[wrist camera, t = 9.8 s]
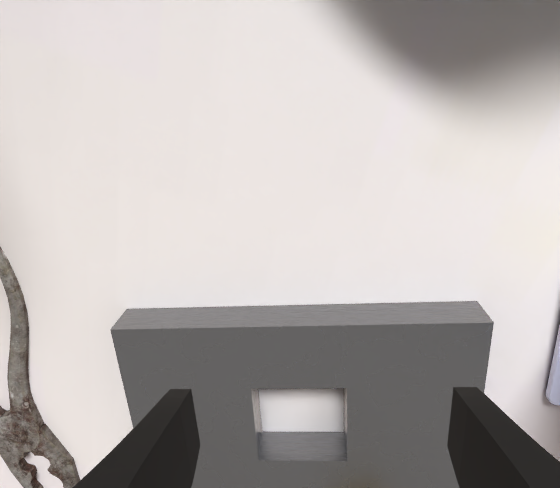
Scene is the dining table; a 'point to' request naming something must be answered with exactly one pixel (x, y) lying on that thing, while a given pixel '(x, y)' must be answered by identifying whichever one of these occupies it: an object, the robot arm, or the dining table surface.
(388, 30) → the dining table surface
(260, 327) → the grey board with hole
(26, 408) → the pliers
